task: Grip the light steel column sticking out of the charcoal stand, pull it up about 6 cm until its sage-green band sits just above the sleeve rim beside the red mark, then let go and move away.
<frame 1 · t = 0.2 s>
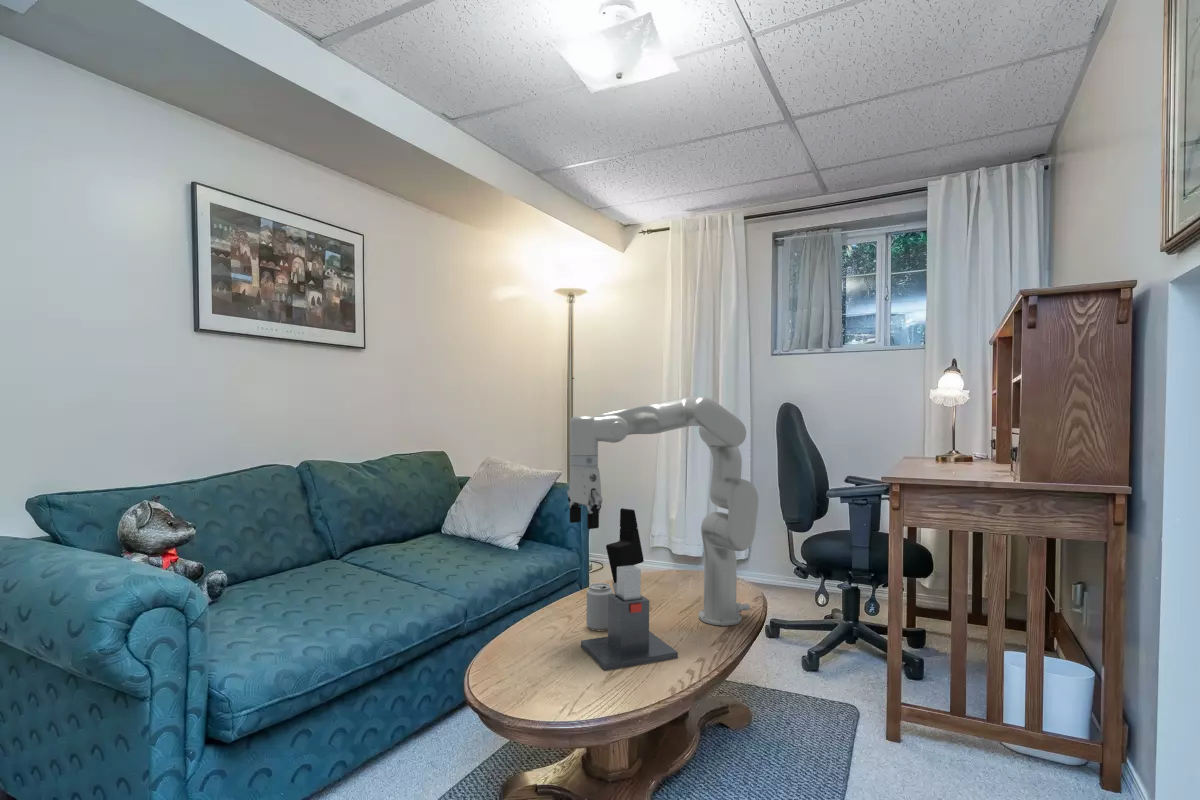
hand: (583, 525, 164), 31 cm above the table, tool pointing down, fingers open, 9 cm apart
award: (624, 603, 196), on the table
stand housing: (628, 652, 156), on the table
column: (628, 606, 156), point 12 cm above the table, slide at 0.0 cm
can: (599, 627, 174), on the table
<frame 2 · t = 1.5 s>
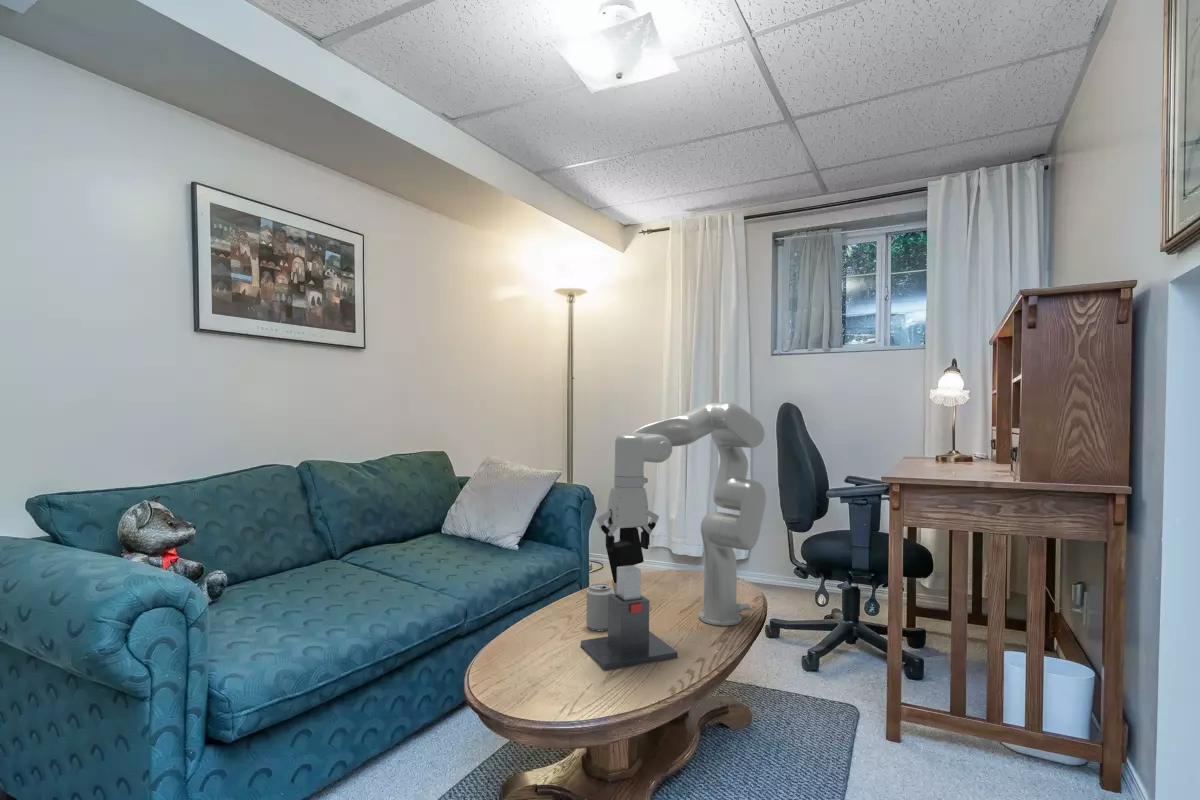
hand: (627, 549, 156), 26 cm above the table, tool pointing down, fingers open, 9 cm apart
nothing on the table moved.
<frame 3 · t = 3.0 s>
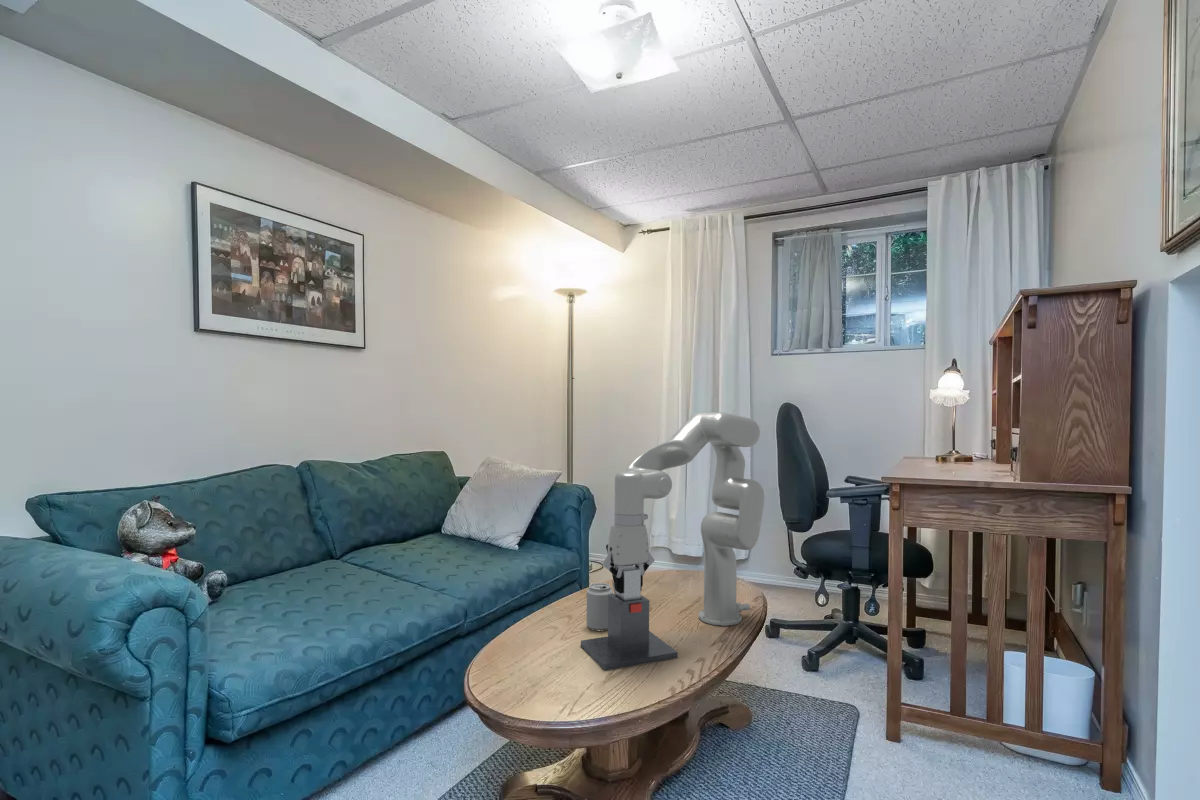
hand: (628, 590, 157), 16 cm above the table, tool pointing down, fingers closed on column, 4 cm apart
column: (628, 606, 156), point 12 cm above the table, slide at 0.0 cm, touching gripper
everything else where it was.
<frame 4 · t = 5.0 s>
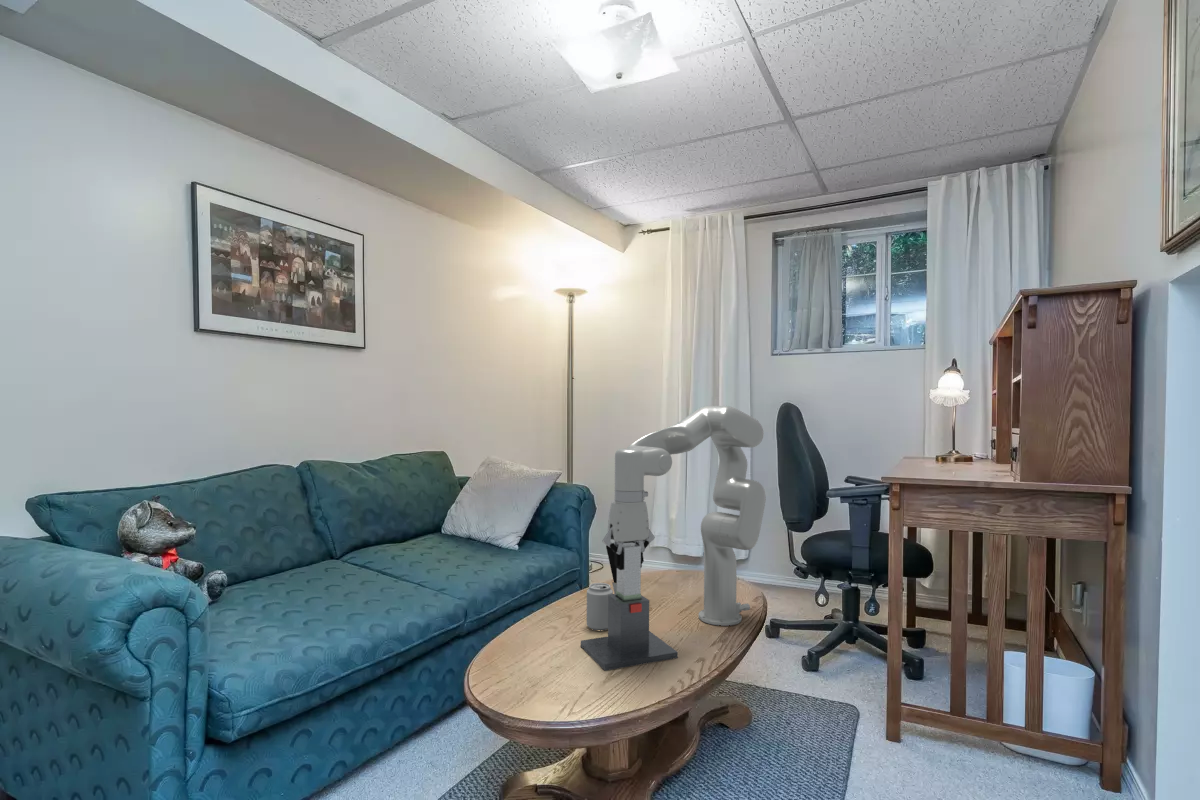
hand: (628, 566, 157), 22 cm above the table, tool pointing down, fingers closed on column, 4 cm apart
column: (628, 583, 157), point 18 cm above the table, slide at 5.9 cm, touching gripper
everything else where it was.
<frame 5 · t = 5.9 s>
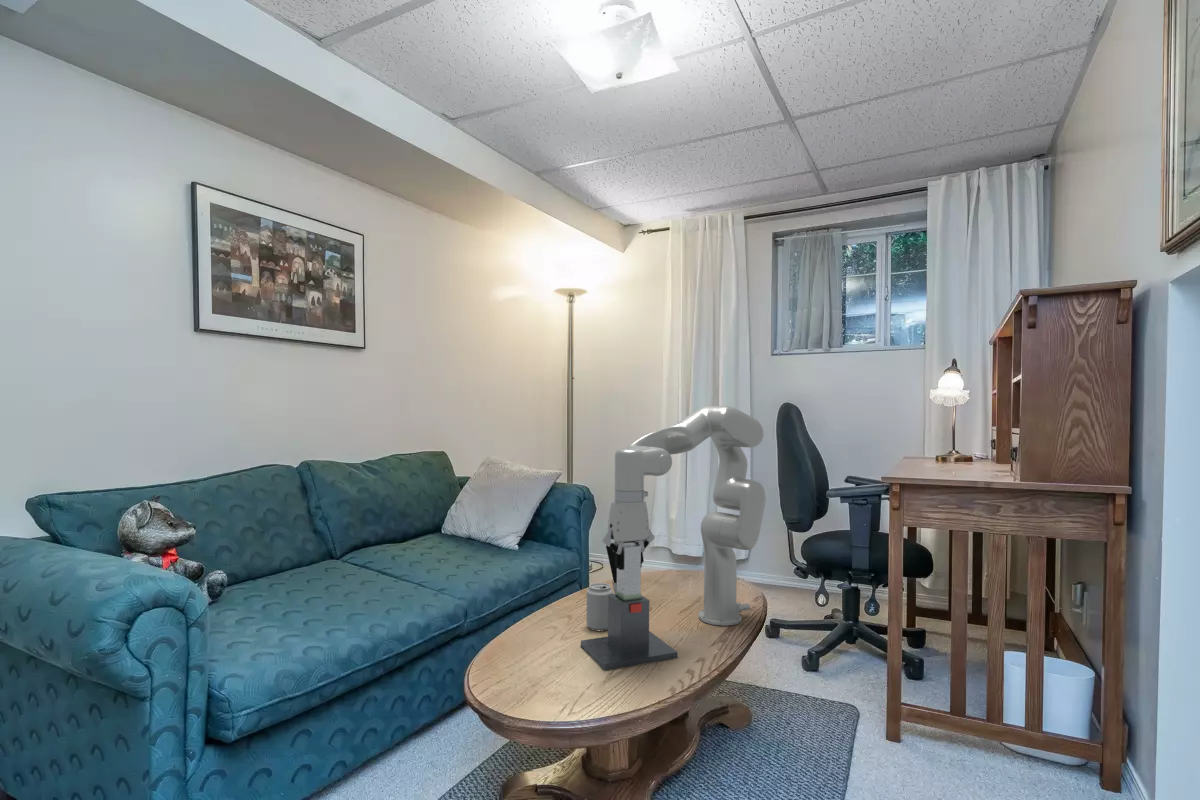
hand: (628, 566, 157), 22 cm above the table, tool pointing down, fingers closed on column, 4 cm apart
column: (628, 583, 157), point 18 cm above the table, slide at 5.9 cm, touching gripper
everything else where it was.
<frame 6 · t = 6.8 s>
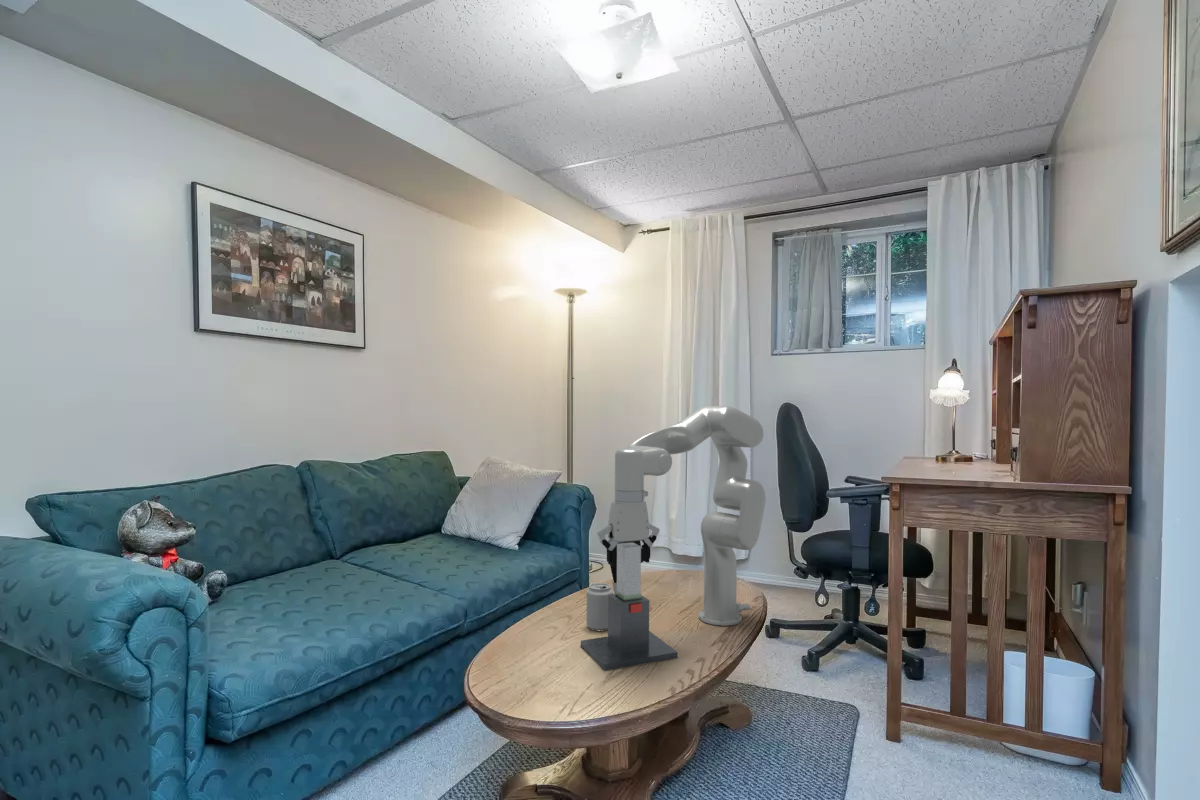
hand: (628, 563, 157), 23 cm above the table, tool pointing down, fingers open, 9 cm apart
column: (628, 582, 157), point 18 cm above the table, slide at 6.0 cm
everything else where it was.
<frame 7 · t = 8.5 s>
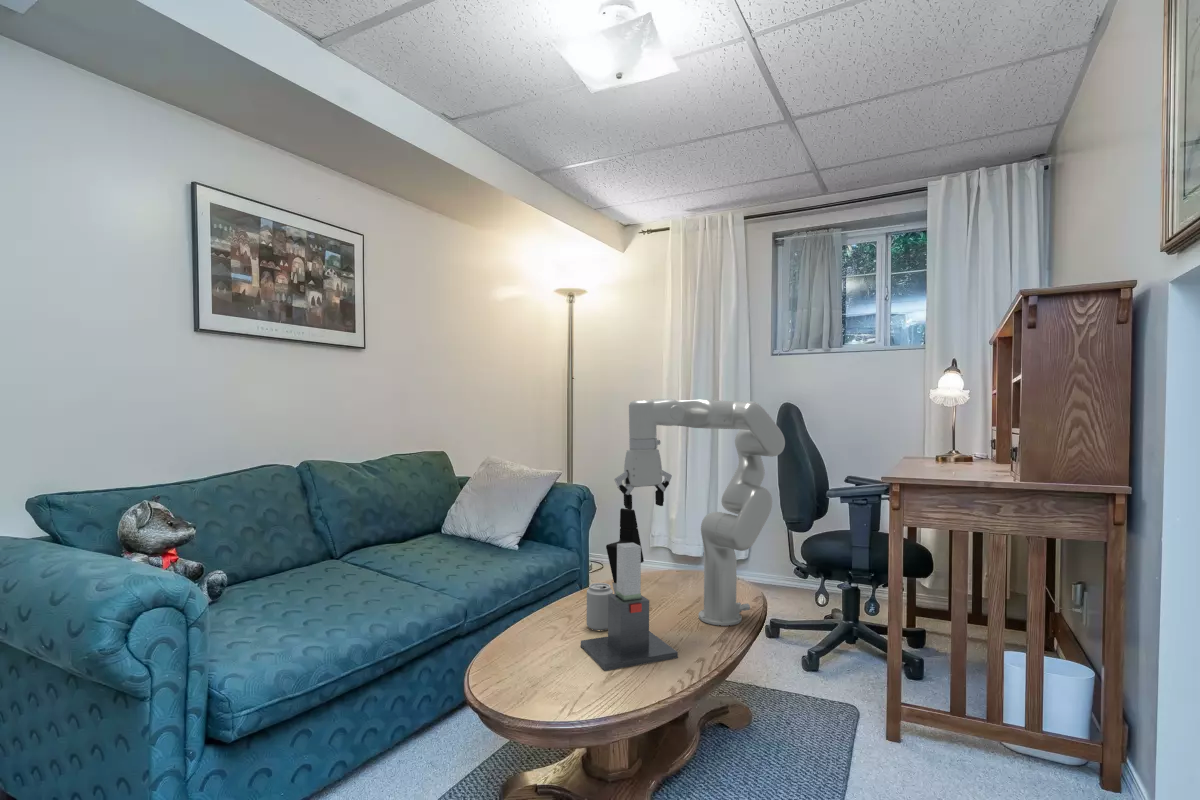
hand: (644, 506, 168), 35 cm above the table, tool pointing down, fingers open, 9 cm apart
nothing on the table moved.
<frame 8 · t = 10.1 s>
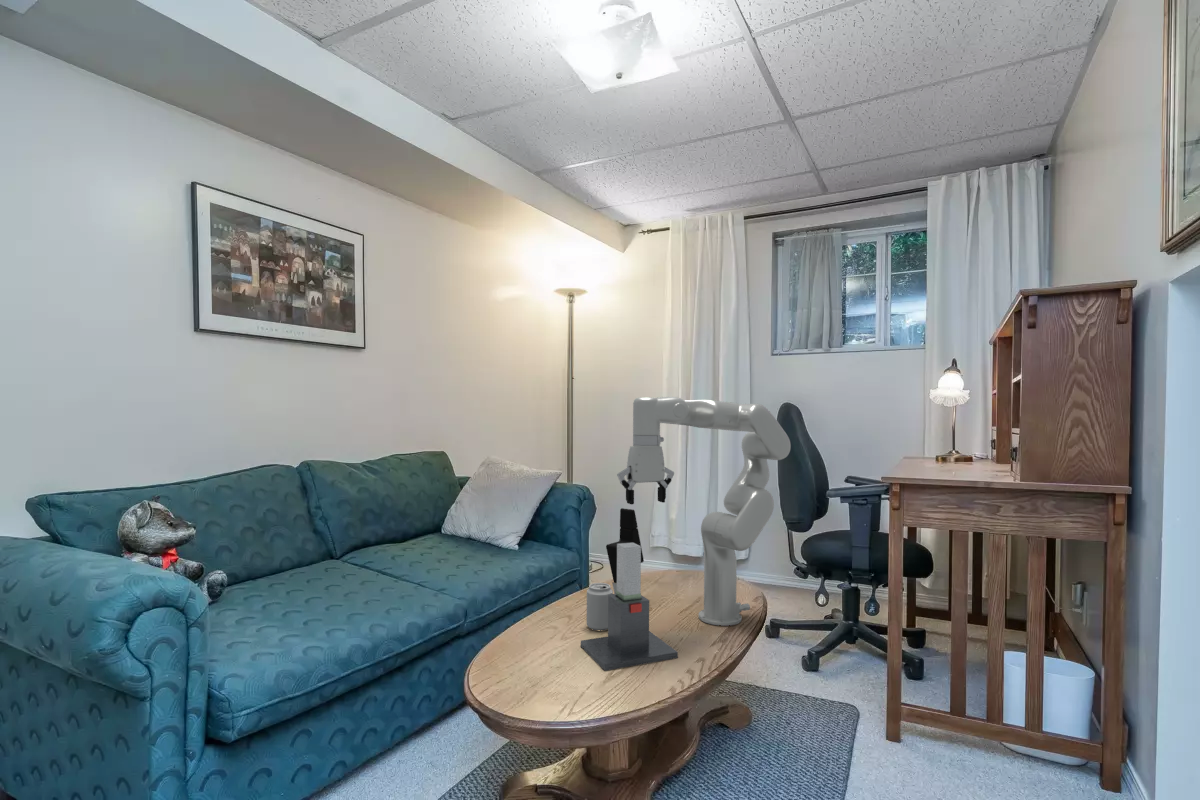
hand: (645, 502, 170), 36 cm above the table, tool pointing down, fingers open, 9 cm apart
nothing on the table moved.
at the end: column slide at 6.0 cm; the gripper is holding nothing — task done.
